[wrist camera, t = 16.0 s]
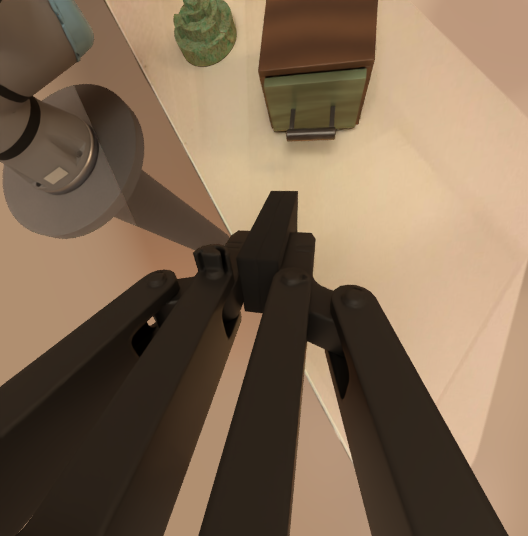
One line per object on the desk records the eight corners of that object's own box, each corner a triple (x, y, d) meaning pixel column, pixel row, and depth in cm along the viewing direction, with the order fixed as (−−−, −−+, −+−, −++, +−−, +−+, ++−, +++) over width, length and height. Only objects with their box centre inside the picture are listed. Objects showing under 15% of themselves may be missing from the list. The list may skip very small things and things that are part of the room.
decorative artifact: (197, 77, 41) (246, 42, 40) (173, 33, 34) (232, -11, 33) (174, 39, 43) (220, 4, 42) (147, -10, 36) (202, -53, 35)
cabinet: (358, 124, 34) (374, 59, 25) (271, 128, 37) (257, 71, 28) (363, 34, 36) (381, -58, 27) (280, 44, 39) (270, -37, 29)
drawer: (352, 156, 33) (364, 113, 26) (271, 158, 36) (259, 119, 28) (359, 42, 35) (372, -29, 28) (282, 51, 37) (274, -12, 30)
